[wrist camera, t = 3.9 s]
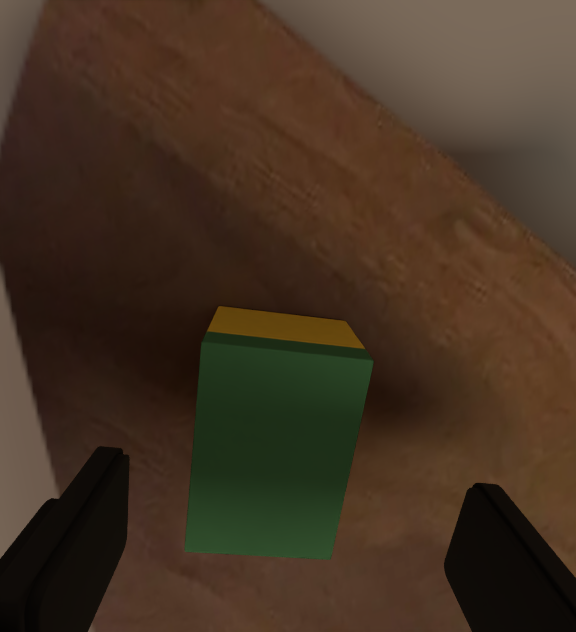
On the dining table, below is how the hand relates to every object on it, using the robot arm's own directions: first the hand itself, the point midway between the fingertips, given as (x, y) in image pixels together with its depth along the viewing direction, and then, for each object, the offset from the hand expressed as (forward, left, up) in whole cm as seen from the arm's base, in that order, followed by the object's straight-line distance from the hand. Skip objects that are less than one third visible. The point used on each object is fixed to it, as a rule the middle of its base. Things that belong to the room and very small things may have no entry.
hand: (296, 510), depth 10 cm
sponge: (-1, 0, -6) cm, 6 cm away
